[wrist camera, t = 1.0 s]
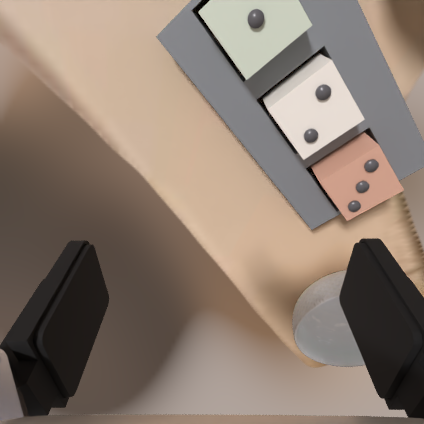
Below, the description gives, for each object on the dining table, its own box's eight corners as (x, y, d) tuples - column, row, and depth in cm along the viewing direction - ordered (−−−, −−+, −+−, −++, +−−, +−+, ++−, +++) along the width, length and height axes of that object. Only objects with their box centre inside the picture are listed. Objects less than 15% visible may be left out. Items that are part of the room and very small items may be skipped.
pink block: (362, 130, 31) (380, 146, 28) (385, 171, 34) (405, 191, 30) (309, 164, 33) (320, 183, 30) (335, 201, 36) (348, 222, 32)
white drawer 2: (318, 53, 27) (332, 60, 24) (348, 106, 30) (366, 120, 26) (262, 97, 30) (267, 110, 26) (294, 143, 32) (304, 161, 28)
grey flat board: (294, -103, 23) (303, -116, 21) (417, 150, 34) (433, 161, 32) (161, 33, 28) (156, 36, 26) (305, 215, 39) (311, 229, 37)
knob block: (260, -49, 24) (267, -58, 20) (300, 22, 26) (313, 25, 23) (200, 11, 26) (197, 12, 22) (243, 71, 28) (246, 81, 25)
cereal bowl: (384, 233, 41) (412, 271, 35) (411, 305, 48) (438, 346, 43) (267, 279, 46) (274, 319, 40) (309, 337, 54) (320, 378, 48)
